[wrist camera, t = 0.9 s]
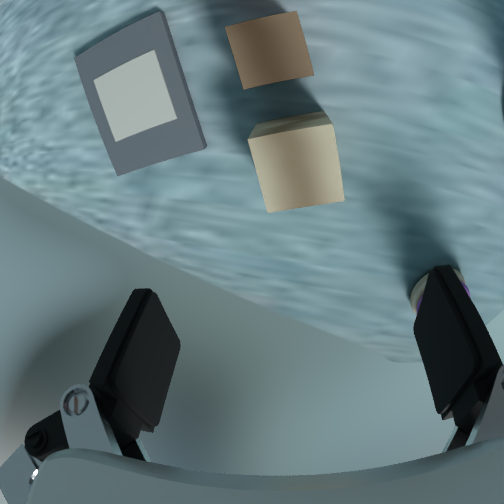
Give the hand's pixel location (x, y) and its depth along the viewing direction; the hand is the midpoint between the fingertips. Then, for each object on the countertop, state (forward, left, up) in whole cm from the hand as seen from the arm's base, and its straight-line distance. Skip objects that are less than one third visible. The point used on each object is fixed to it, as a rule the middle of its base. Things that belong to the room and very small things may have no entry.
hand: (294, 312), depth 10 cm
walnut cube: (0, -9, -20) cm, 22 cm away
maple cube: (0, 0, -20) cm, 20 cm away
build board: (+13, -9, -20) cm, 25 cm away
